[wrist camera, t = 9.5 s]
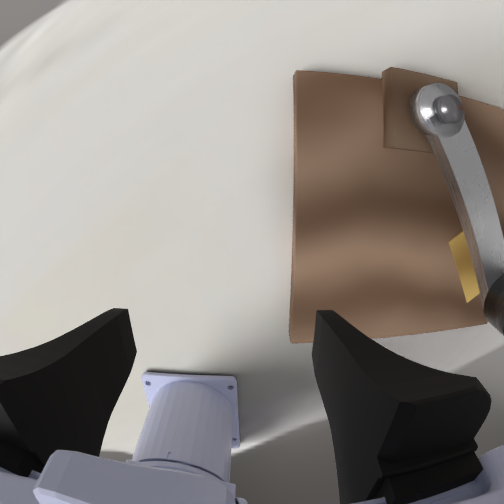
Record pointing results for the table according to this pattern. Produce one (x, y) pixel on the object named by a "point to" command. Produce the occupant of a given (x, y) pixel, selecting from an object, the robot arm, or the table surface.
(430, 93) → the lever
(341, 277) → the cracker board
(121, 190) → the table surface
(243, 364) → the table surface
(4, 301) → the table surface
